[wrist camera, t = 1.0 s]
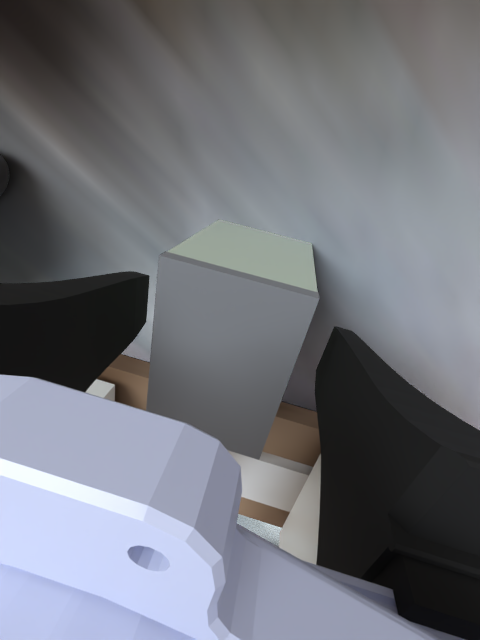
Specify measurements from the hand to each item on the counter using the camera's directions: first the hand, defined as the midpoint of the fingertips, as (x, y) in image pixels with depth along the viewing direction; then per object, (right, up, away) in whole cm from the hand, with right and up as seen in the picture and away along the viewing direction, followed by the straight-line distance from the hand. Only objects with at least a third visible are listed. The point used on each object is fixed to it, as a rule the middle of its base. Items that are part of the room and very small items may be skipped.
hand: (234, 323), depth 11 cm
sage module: (+1, +1, +3) cm, 3 cm away
